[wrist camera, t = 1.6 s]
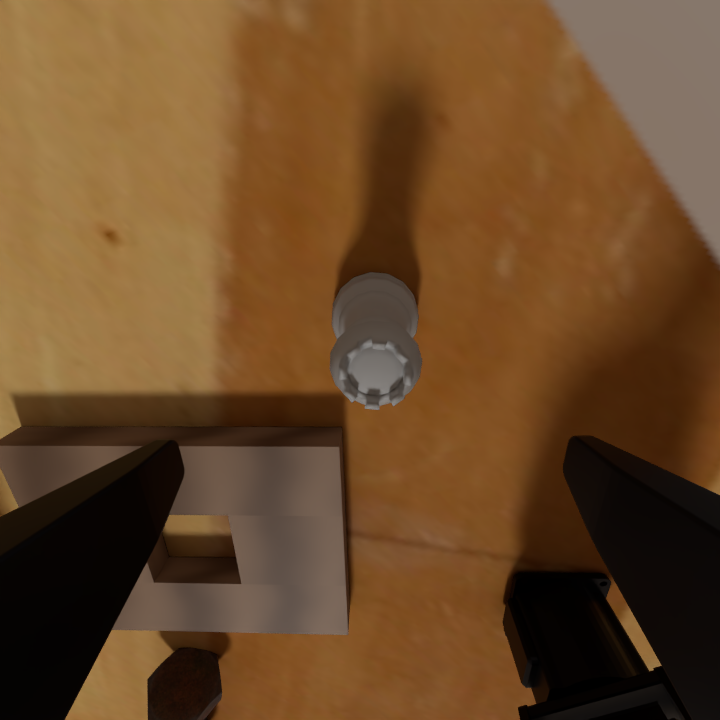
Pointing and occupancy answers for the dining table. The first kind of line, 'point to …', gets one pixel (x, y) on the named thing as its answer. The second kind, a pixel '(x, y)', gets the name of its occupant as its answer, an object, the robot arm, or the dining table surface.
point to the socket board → (246, 518)
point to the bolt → (185, 686)
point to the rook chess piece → (375, 340)
